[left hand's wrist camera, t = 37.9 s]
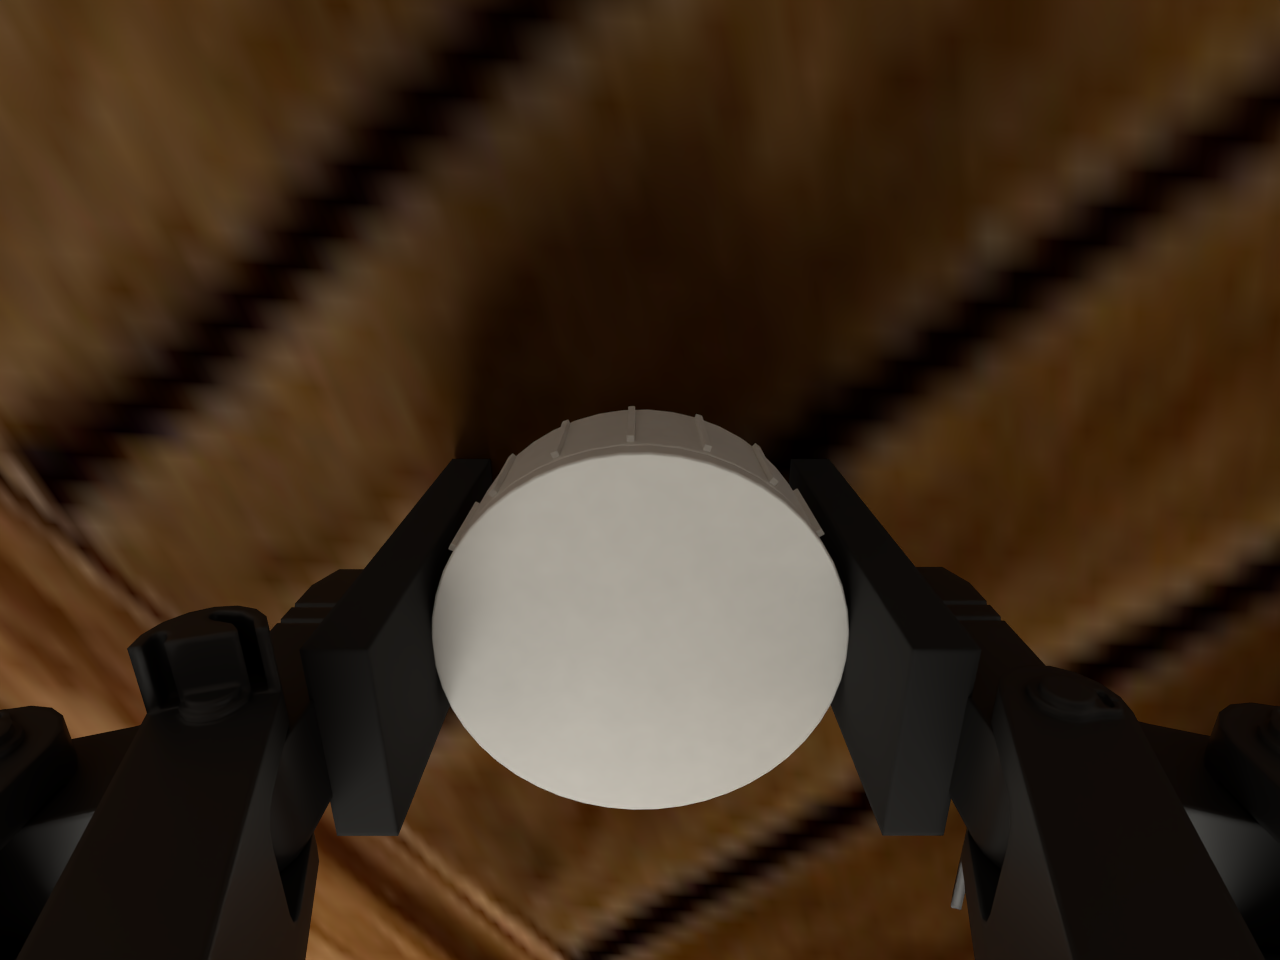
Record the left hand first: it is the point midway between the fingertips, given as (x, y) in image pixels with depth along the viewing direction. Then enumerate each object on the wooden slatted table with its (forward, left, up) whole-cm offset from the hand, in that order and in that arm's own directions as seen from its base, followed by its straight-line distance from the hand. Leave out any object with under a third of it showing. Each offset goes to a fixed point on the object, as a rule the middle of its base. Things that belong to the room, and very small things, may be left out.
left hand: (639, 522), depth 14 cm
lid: (0, 0, +4) cm, 4 cm away
